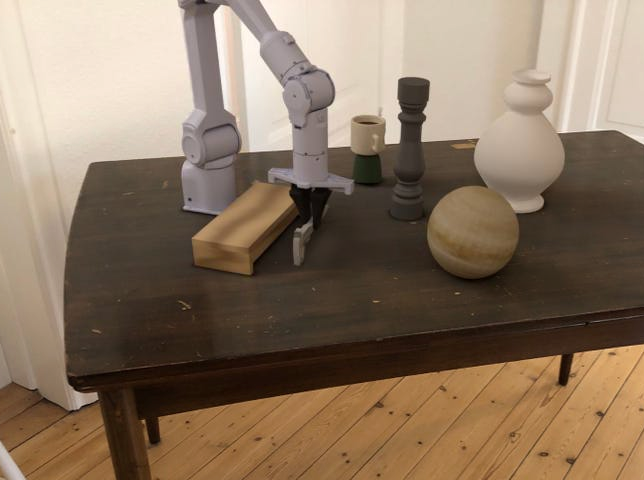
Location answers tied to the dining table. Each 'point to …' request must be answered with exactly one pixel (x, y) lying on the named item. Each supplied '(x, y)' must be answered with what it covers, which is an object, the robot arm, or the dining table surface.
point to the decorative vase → (522, 144)
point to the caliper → (303, 239)
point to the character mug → (367, 147)
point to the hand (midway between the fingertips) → (311, 226)
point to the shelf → (245, 229)
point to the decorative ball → (473, 232)
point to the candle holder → (410, 149)
